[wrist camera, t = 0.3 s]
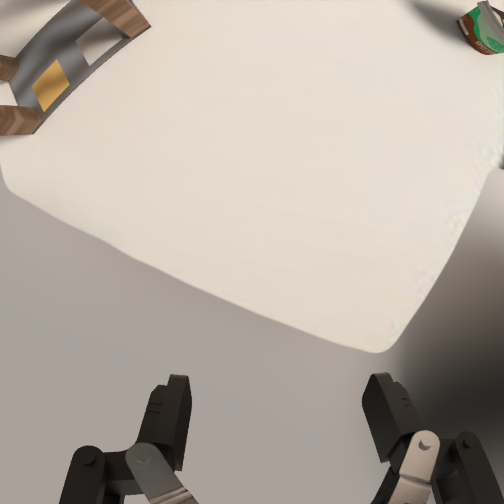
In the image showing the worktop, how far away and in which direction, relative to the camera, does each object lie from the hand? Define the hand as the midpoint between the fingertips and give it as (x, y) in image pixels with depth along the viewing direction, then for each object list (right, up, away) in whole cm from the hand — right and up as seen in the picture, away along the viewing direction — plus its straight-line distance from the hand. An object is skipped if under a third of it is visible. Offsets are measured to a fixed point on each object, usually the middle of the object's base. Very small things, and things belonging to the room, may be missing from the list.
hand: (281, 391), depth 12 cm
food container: (+35, +39, +15) cm, 55 cm away
